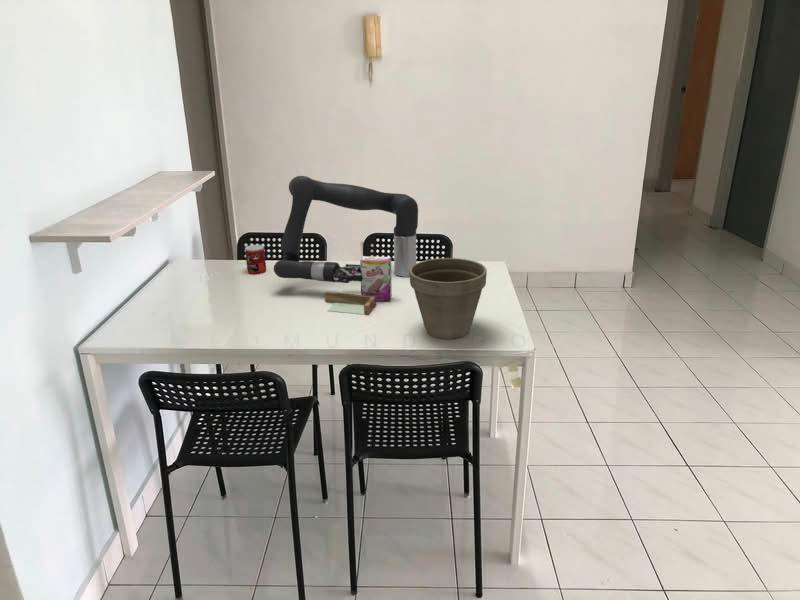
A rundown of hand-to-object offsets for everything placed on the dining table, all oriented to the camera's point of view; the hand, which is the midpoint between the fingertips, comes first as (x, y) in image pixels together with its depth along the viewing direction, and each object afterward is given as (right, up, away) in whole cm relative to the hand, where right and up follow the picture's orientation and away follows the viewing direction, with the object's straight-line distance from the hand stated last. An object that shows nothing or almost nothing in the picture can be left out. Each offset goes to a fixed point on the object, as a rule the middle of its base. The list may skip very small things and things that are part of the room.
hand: (366, 274), depth 225 cm
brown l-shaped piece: (-7, -12, -5) cm, 15 cm away
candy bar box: (+4, -9, +3) cm, 11 cm away
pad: (-6, -13, -6) cm, 15 cm away
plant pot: (+28, -20, -24) cm, 42 cm away
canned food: (-49, +3, +34) cm, 60 cm away
